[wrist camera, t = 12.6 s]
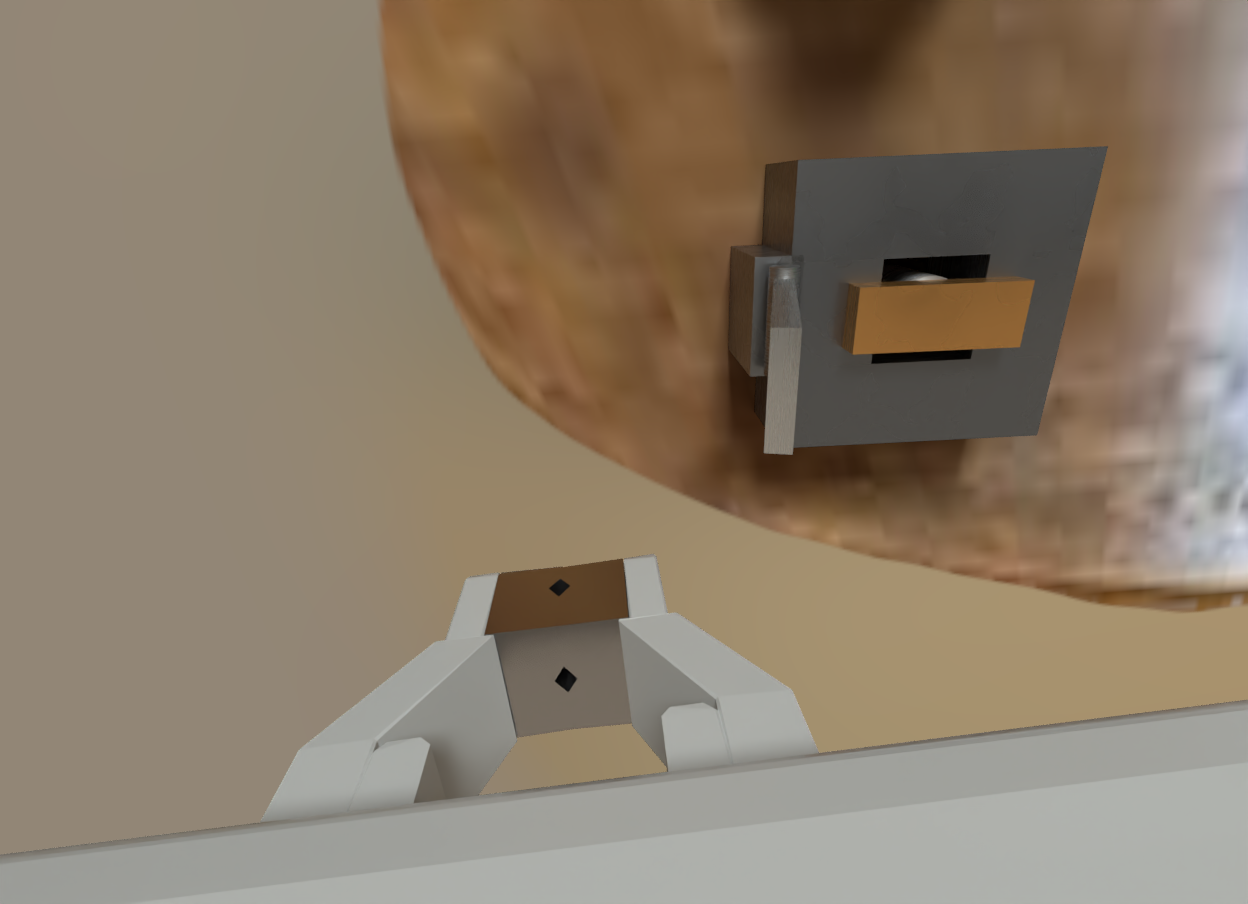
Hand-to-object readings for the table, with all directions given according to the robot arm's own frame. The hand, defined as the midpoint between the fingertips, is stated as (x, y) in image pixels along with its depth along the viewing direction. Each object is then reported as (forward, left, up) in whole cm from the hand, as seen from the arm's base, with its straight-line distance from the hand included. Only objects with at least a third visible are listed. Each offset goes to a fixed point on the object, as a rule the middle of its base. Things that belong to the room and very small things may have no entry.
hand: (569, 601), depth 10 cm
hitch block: (-14, -1, -23) cm, 27 cm away
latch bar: (-8, -1, -17) cm, 19 cm away
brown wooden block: (-14, -1, -22) cm, 26 cm away
